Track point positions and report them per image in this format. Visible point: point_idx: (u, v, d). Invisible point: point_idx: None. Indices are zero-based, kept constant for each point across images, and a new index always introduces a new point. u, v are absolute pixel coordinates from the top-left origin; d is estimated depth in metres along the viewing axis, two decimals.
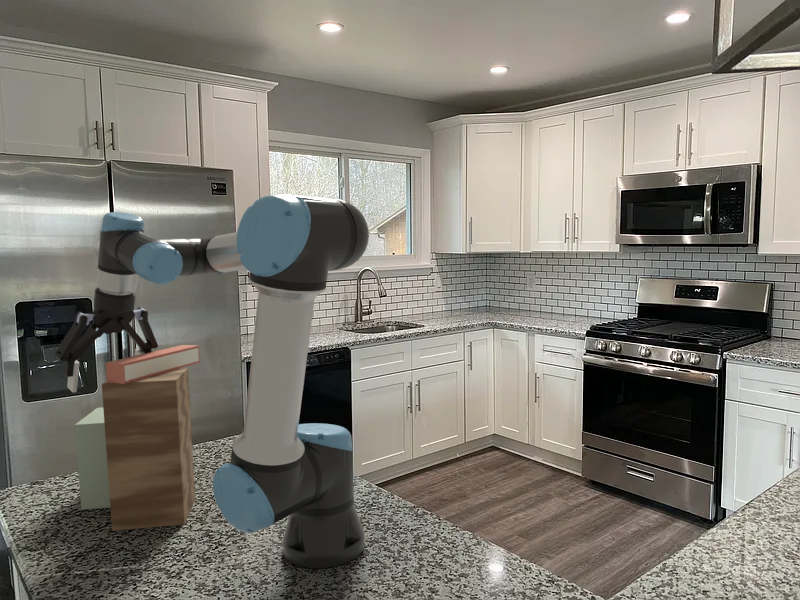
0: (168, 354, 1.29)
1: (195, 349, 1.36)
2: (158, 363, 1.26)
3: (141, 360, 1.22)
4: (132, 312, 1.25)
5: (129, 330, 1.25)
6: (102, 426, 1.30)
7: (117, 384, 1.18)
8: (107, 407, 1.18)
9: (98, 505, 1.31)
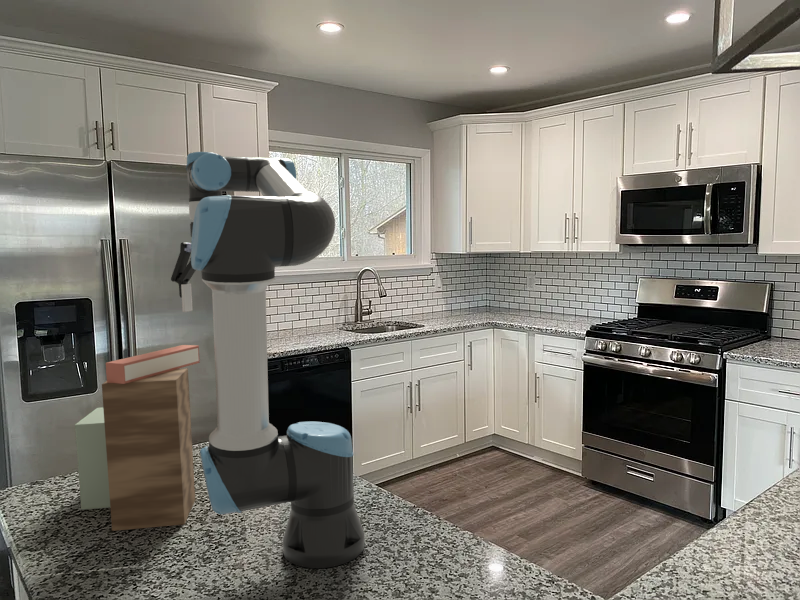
0: (168, 354, 1.29)
1: (195, 349, 1.36)
2: (158, 363, 1.26)
3: (141, 360, 1.22)
4: None
5: None
6: (102, 426, 1.30)
7: (117, 384, 1.18)
8: (107, 407, 1.18)
9: (98, 505, 1.31)
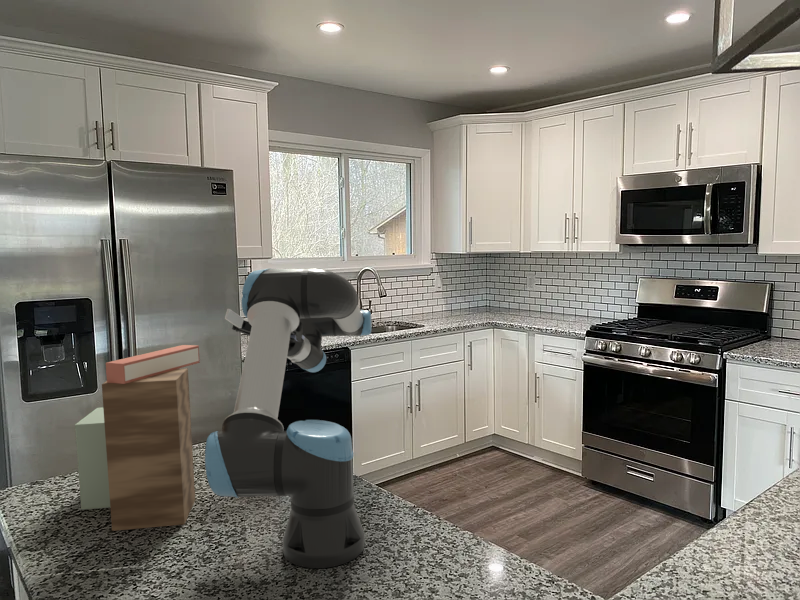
0: (168, 354, 1.29)
1: (195, 349, 1.36)
2: (158, 363, 1.26)
3: (141, 360, 1.22)
4: None
5: None
6: (102, 426, 1.30)
7: (117, 384, 1.18)
8: (107, 407, 1.18)
9: (98, 505, 1.31)
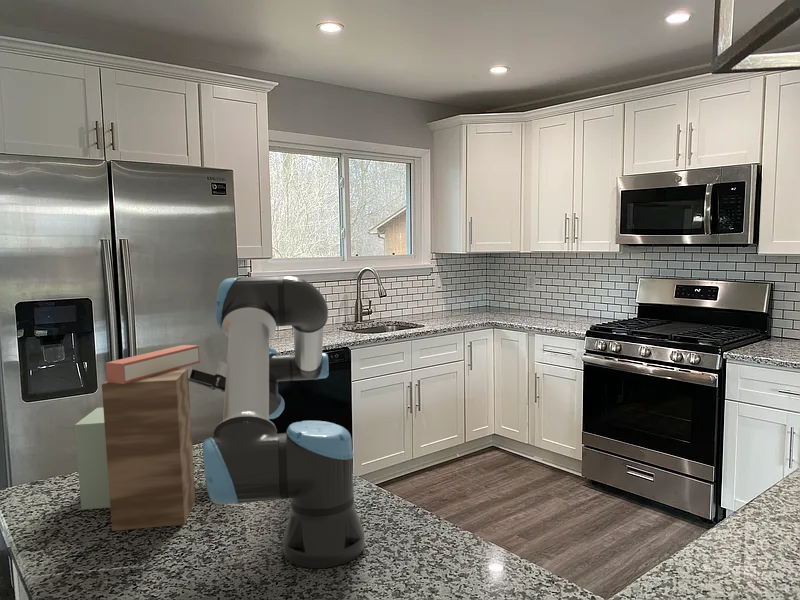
0: (168, 354, 1.29)
1: (195, 349, 1.36)
2: (158, 363, 1.26)
3: (141, 360, 1.22)
4: None
5: None
6: (102, 426, 1.30)
7: (117, 384, 1.18)
8: (107, 407, 1.18)
9: (98, 505, 1.31)
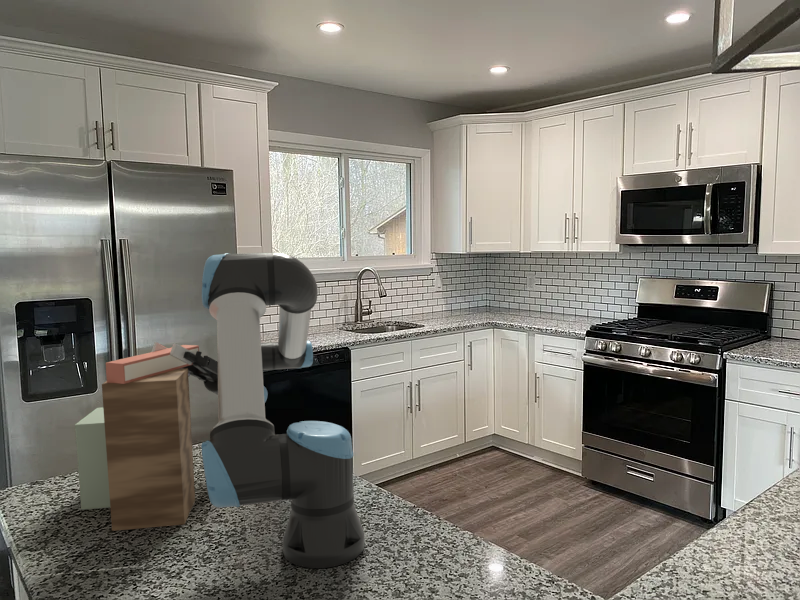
0: (168, 354, 1.29)
1: (195, 349, 1.36)
2: (158, 363, 1.26)
3: (141, 360, 1.22)
4: None
5: None
6: (102, 426, 1.30)
7: (117, 384, 1.18)
8: (107, 407, 1.18)
9: (98, 505, 1.31)
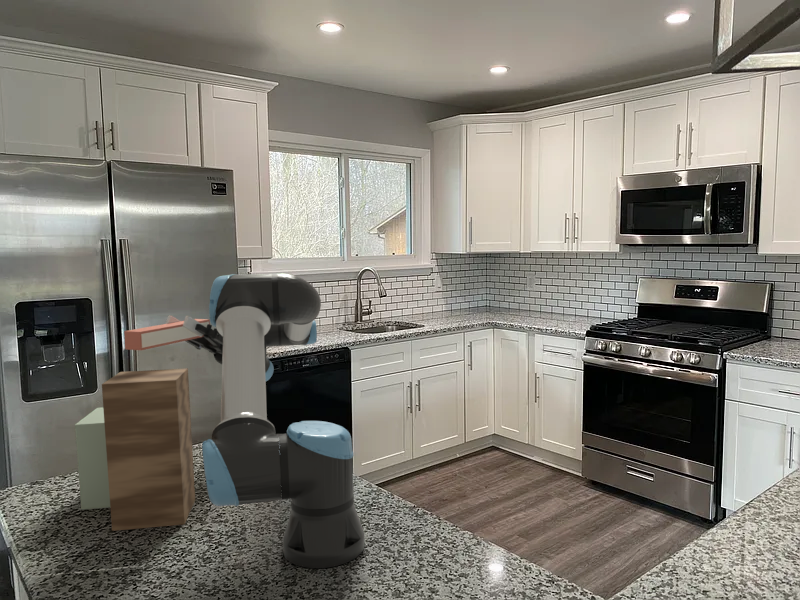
0: (181, 325, 1.39)
1: (206, 322, 1.47)
2: (172, 333, 1.36)
3: (156, 329, 1.32)
4: None
5: None
6: (102, 426, 1.30)
7: (117, 384, 1.18)
8: (107, 407, 1.18)
9: (98, 505, 1.31)
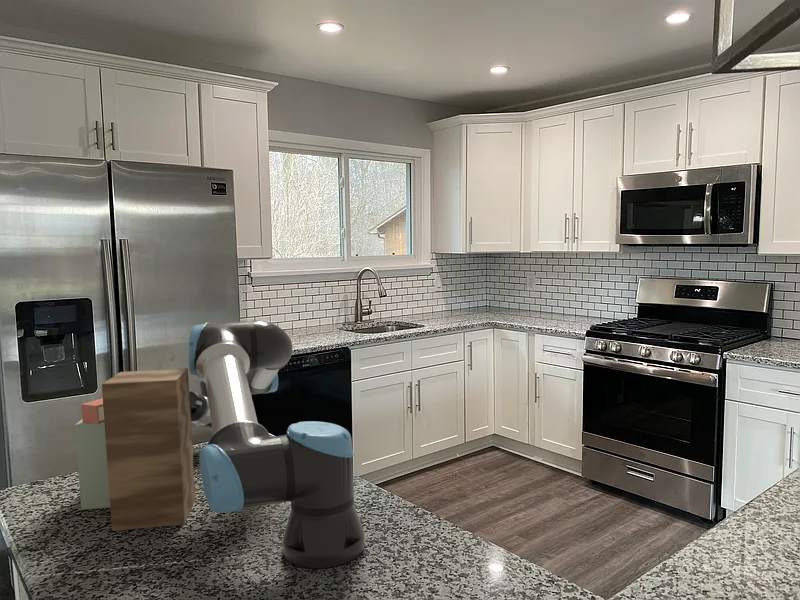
0: None
1: None
2: None
3: None
4: None
5: None
6: (102, 426, 1.30)
7: (117, 384, 1.18)
8: (107, 407, 1.18)
9: (98, 505, 1.31)
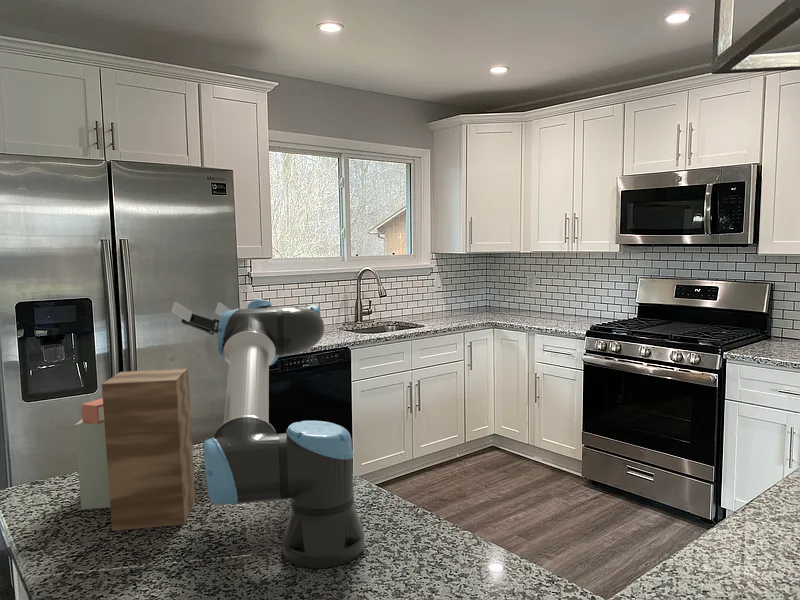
0: None
1: None
2: None
3: None
4: None
5: None
6: (102, 426, 1.30)
7: (117, 384, 1.18)
8: (107, 407, 1.18)
9: (98, 505, 1.31)
